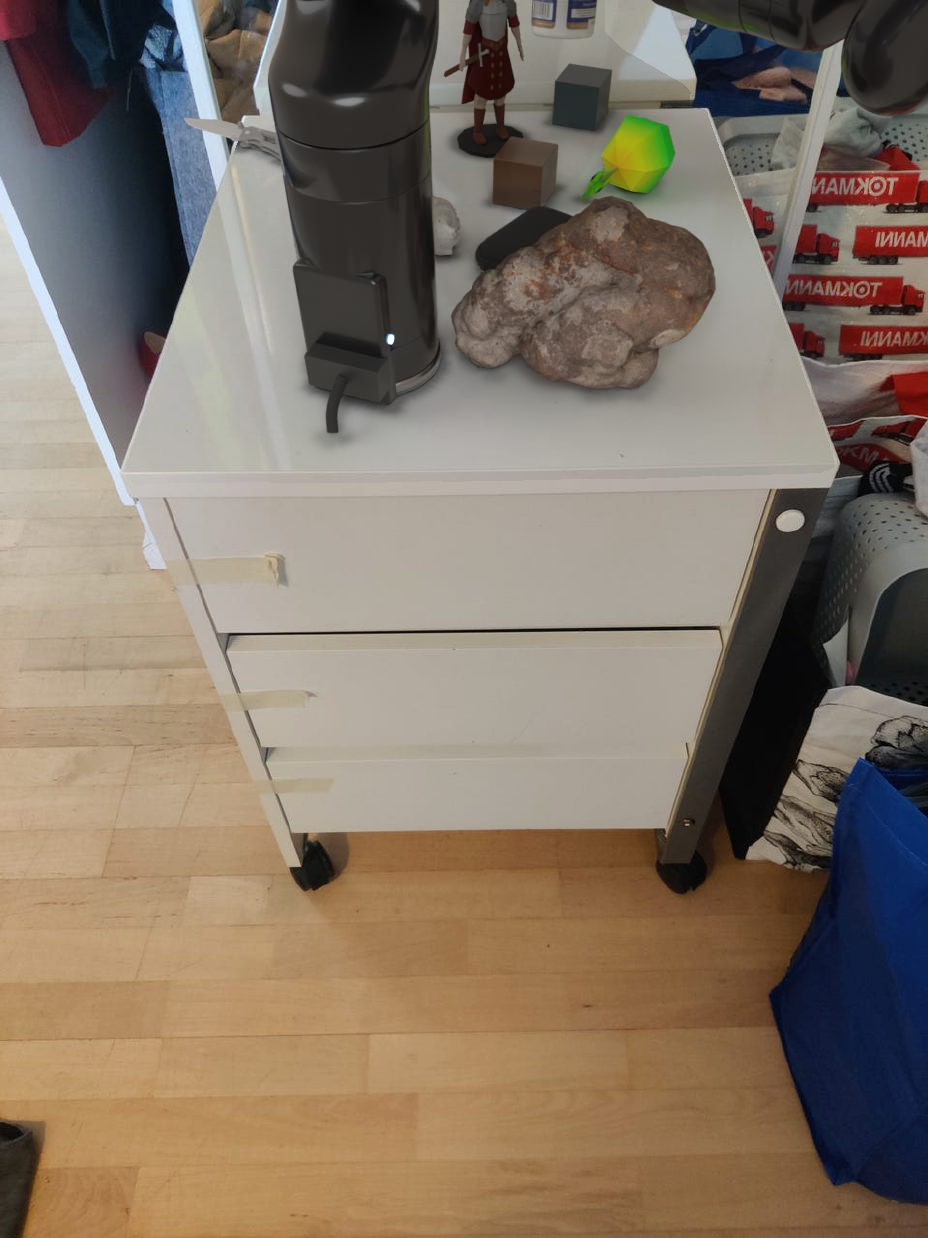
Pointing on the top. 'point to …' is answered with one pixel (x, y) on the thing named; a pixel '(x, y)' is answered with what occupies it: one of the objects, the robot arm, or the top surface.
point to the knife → (239, 134)
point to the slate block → (581, 96)
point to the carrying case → (518, 235)
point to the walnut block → (524, 173)
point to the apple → (635, 156)
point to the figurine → (487, 72)
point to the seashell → (445, 226)
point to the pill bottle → (563, 18)
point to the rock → (590, 298)
